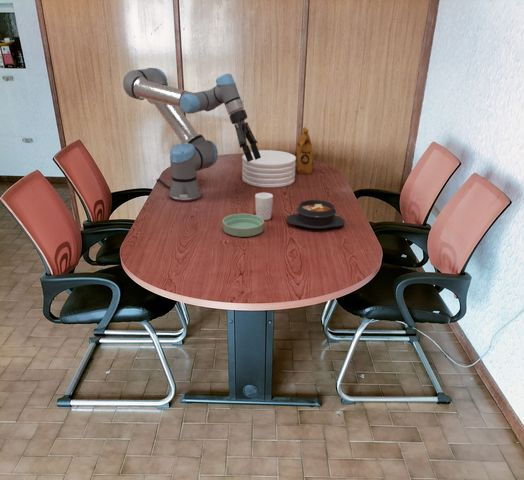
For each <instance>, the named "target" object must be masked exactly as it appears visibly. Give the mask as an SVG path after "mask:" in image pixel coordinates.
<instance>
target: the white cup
mask: <svg viewBox="0 0 524 480" xmlns="http://www.w3.org/2000/svg"><path fill="white" fill-rule="evenodd" d="M273 203H274V194H272V193H270V192H258V193H257V192H256V193H255V194H254V208H255V215H256V216H259V217H261V218H262V219H263V220H264V221H268V220H271V218H272V213H273V205H274V204H273Z"/></svg>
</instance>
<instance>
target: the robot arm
mask: <svg viewBox="0 0 524 480" xmlns="http://www.w3.org/2000/svg"><path fill="white" fill-rule="evenodd" d="M215 83H216V85H215V86H214V87H211V88H210V89H207V90H202V91H197V92H192V91H188V90H185V89H181V88H177V87H173V86H169V82H168V78H167V76H166V74H165V72H164V71H163V70H161V69H160V68H157V67H148V68H141V69H132V70H129V71H128V72H127V73H125V75H124V77H123V80H122V87H123V90H124V92H125V94H127V96H129V97H130V98H132V99H135V100H139V101H143V100H147V101H148V103H149V104H150V105H154V106H155V107H156V109H157V111H159V113H160V115H161V116H162V117H163V118H164V120H165V121H166V123H167V124H168V125H169V127H170V129H171V130H172V131H173V132H174V134H175V135H176V137H177V138H178V140H179V141H180V142H181V143H178V144H174V145H173V146H172V147H171V148H170V150H169V161H170V173H171V183H170V185H168V184H166V183H165V182H164V181H163V180H162V179H160V178H157V179H156V180H155V181H156V182H160V183H161V184H162V185H163V186H164V187H165V188H168V189H170V190H169V191H168V193H169V194H168V197H169V198H170V200H172V201H176V202H194V201H197V200H199V199H200V198H201V197H202V191H201V189H200V186H199V184H198V180H197V172H198V171H202V170H204V169H207V168H210V167H212V166H214V165H215V164H216V163H217V161H218V154H219V153H218V152H219V151H218V148H217V145H216V144H215V143H214V142H213V141H212V140H208V139H207V140H206V138H205V137H204V136H203V134H201V133H197V130H195V128H194V127H193V125H192V124H191V122H190V121H189V120H188V118H187V117H186V116H185V114H196V113H199V112H203V111H205V112H210V111H214V110H215V109H216V108H218V107H219V106H221V105H223V104H224V107H225V109H226V112H227V115H229V120H230V122H231V124H232V125H234V128H235V132H236V136H237V141H238V145H239V148H240V149H242V152H243V155H244V154H245V156H246V159H247V162H249V161H252V160H253V157H252V154H251V152H253V155H254V157H255V160H257V159H259V158H261V156H260V153H259V148H258V146H257V144H258V141H257V140H256V138H255V136H254V134H253V131H252V130H251V128H250V125H249V123H248V121H245V120H247V119H248V114H247V111H246V109H245V106H244V104H243V103H244V101H243V100H242V98H241V96H240V93H239V91H238V90H239V89H238V87H237V84H236V82H235V80H234V77H233V74H231V73H225V74H222V75H220V76H218V77H217V78H216V79H215ZM248 143H249V145H250V146H249V145H248Z"/></svg>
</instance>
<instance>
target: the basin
mask: <svg viewBox="0 0 524 480" xmlns="http://www.w3.org/2000/svg"><path fill="white" fill-rule="evenodd" d="M221 224H222V230H223V232H224V233H226V234H228V235H230V236H233V237H239V238H249V237H254V236H257V235H260V234H261V233H263V232H264V229H265V220H263V219H262V218H261V217H259V216H256V214H252V213H234V214H228V215H227V216H225V217H224V218H223V219H222V223H221Z"/></svg>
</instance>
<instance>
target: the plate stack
mask: <svg viewBox="0 0 524 480" xmlns="http://www.w3.org/2000/svg"><path fill="white" fill-rule="evenodd" d="M258 151H259V153H260V156H261V158H259V159H257V160H255V157H254V155H253V152H252V151H250V152H251V154H252V157H253V160H252V161H249V162H247V159H246V156H245V154H244V153H243V154H242V156H241V159H242V160H241V163H242V166H241V169H242V171H241V172H242V173H241V175H242V178H241V180H242V181H243V182H244V183H245V184H247V185H250V186H254V187H259V188H282V187H286V186H290V185H293V184H294V182H295V180H296V177H295V176H296V166H295V165H296V163H295V161H296V157H295V154H292V153H290V152H287V151H283V150H273V149H262V150H261V149H260V150H259V149H258Z"/></svg>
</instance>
